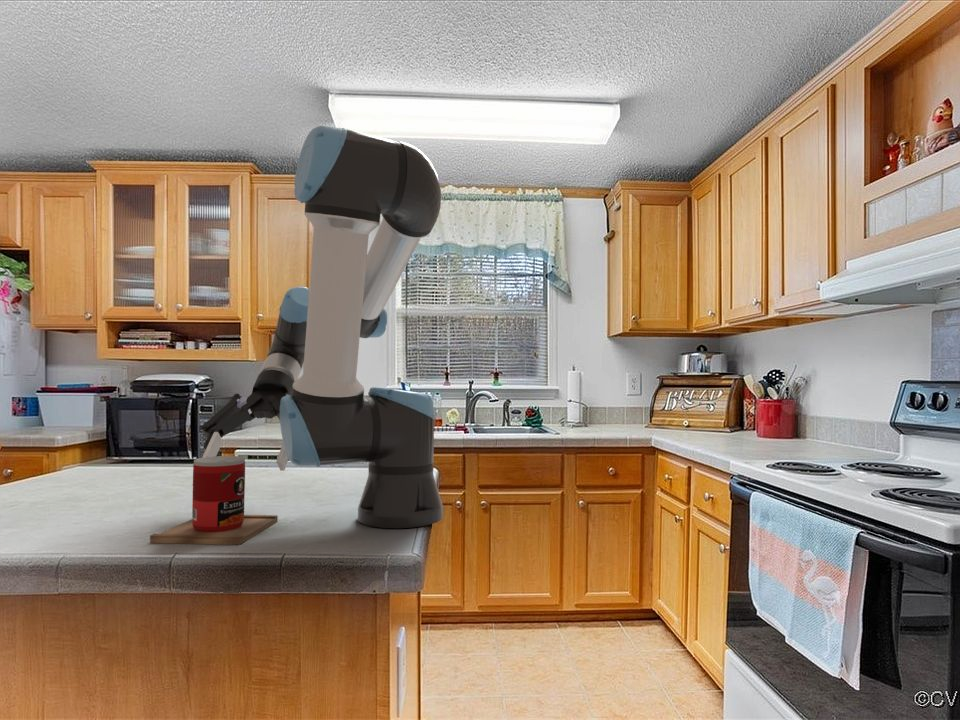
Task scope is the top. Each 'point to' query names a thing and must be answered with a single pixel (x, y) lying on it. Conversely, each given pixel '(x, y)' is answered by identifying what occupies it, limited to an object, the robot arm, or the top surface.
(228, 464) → the canned food
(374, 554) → the top surface
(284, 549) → the top surface
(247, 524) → the trivet
